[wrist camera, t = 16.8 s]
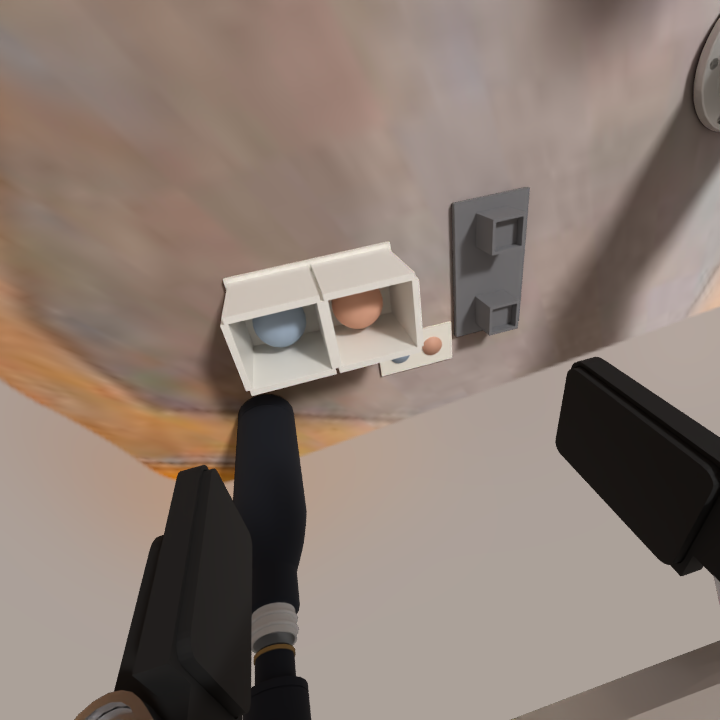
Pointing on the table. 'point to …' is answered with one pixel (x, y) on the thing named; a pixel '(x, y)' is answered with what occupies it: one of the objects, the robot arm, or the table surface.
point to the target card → (424, 350)
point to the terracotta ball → (358, 309)
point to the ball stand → (489, 261)
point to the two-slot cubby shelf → (321, 317)
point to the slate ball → (281, 327)
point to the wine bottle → (272, 551)
